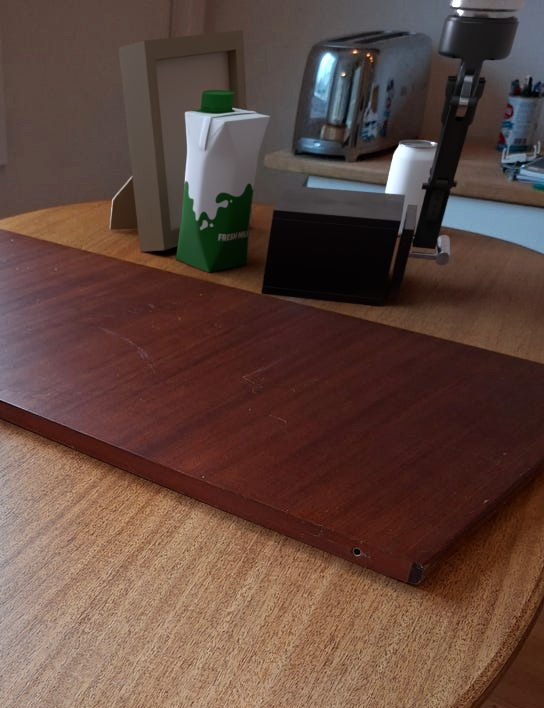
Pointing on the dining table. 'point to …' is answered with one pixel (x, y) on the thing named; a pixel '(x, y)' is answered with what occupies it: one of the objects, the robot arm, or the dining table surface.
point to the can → (411, 173)
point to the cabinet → (332, 244)
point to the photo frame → (168, 124)
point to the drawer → (405, 253)
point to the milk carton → (219, 182)
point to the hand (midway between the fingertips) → (423, 246)
